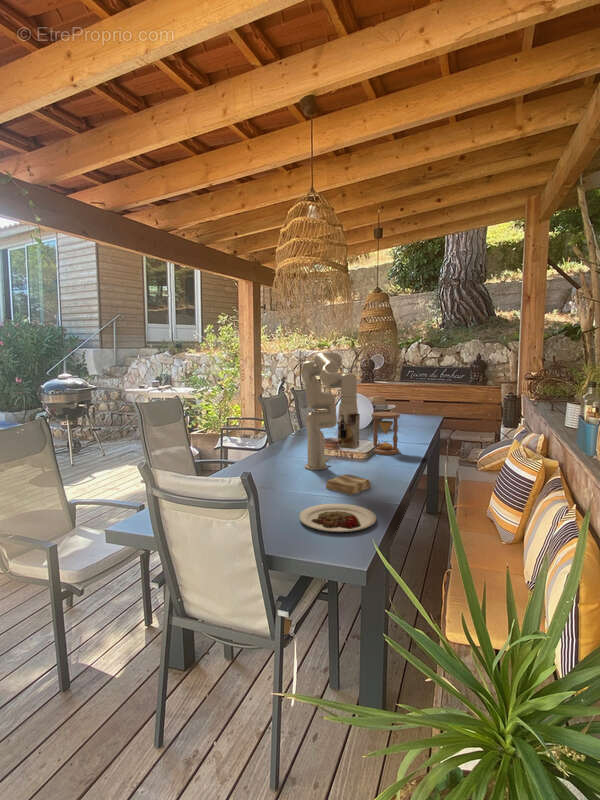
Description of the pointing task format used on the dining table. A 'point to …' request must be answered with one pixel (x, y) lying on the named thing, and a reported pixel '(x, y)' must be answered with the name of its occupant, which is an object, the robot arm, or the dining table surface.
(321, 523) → the plated food
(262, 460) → the dining table surface
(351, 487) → the sliced bread
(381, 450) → the hourglass
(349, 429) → the coffee box
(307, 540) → the dining table surface
